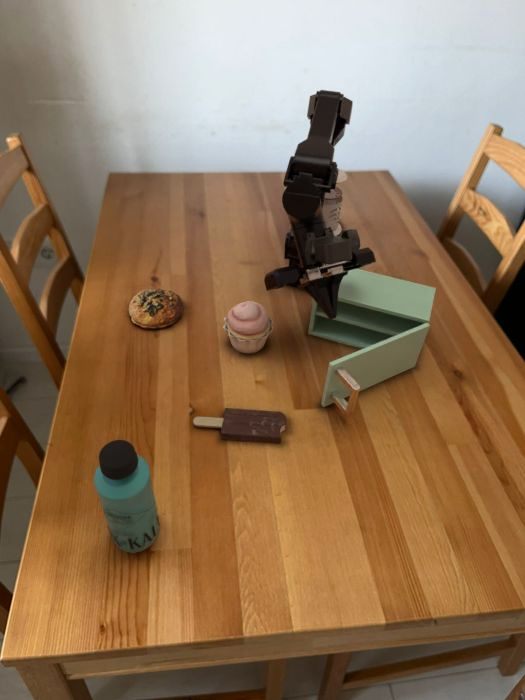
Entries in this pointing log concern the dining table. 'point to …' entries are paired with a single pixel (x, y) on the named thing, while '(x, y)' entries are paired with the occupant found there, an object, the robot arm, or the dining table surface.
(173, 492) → the dining table surface
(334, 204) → the french press
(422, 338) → the fridge door
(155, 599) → the dining table surface
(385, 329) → the fridge
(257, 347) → the cupcake
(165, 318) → the bread roll
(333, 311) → the robot arm
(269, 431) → the ice cream bar
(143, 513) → the beverage bottle
